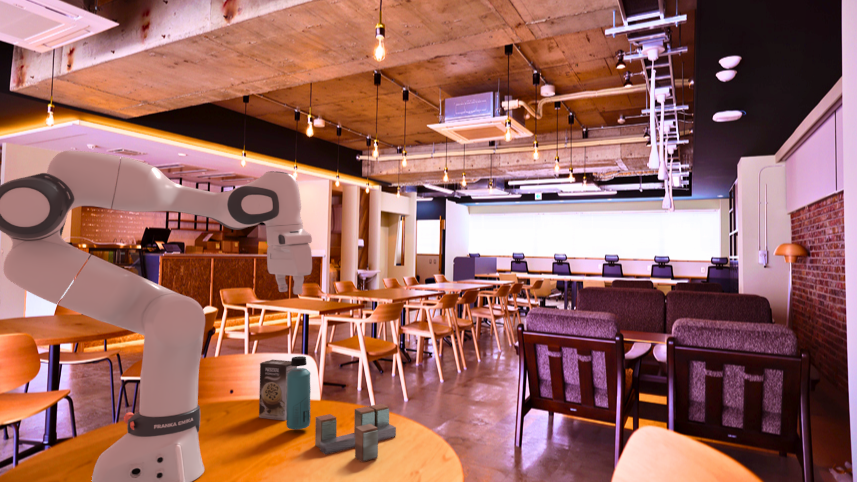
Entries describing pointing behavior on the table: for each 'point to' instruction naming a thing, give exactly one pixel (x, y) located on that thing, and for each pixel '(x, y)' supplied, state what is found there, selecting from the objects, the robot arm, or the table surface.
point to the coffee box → (274, 389)
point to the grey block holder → (363, 416)
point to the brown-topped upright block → (366, 442)
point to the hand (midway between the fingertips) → (290, 292)
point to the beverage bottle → (298, 395)
